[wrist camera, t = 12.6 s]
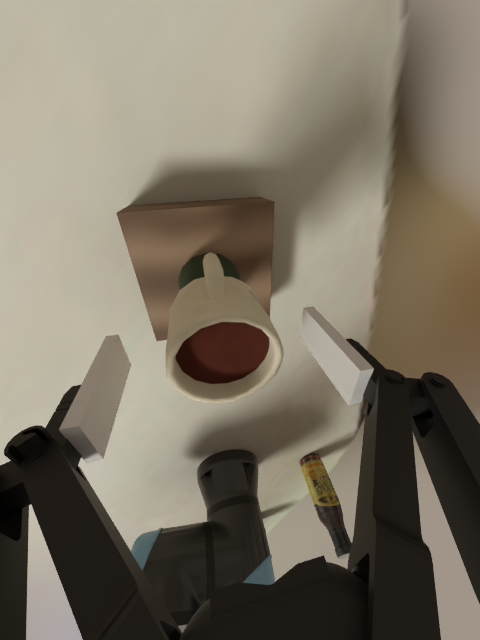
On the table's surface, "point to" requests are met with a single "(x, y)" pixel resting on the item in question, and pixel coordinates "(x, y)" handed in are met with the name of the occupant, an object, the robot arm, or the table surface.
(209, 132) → the table surface
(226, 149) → the table surface
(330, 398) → the table surface
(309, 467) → the sauce bottle
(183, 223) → the walnut stand
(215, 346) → the character mug
